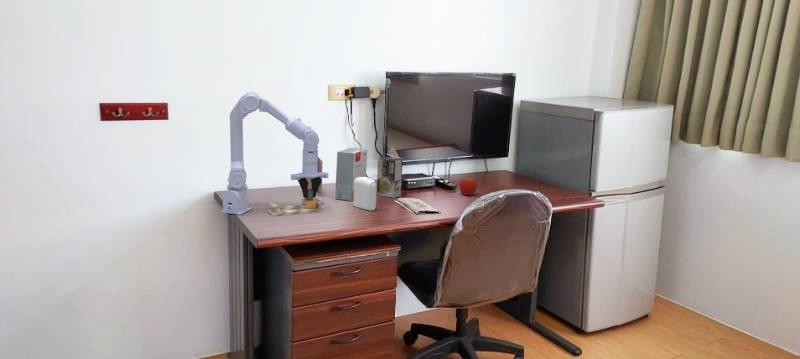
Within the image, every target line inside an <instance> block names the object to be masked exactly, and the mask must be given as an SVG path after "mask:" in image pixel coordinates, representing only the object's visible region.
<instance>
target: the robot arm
mask: <svg viewBox="0 0 800 359" xmlns="http://www.w3.org/2000/svg"><path fill="white" fill-rule="evenodd" d="M257 110H258V112H259V113H260V112H261V113H267V114H269V115H270V116H272V117H273V118H275V119H276V120H278V121H279V122H281V123H282V124H284V128H285V130H286V131H287V132H289V133H290V134H291V135H293V136H294V137H295V138H296V139H298V140H300V141H301V140H302V142H303V144H302V145H303V147H302V148H303V149H302V159H301V160H302V166H301V167H302V168H301V172H299V173H293V174H292V173H291V174H290V180H291V181H297V182H298V185H300V188H301V192H302V196H303V199H306V198H307V189H308V183H309V182H308V181H307V180H306V179H311V184H312V189H313V199H315V198H316V196H317V193H318V191H317V190H318V188H319V186H320V184H321V182H322V183H323V179H329V172H326V171H325V172H323V171H322V172H318V157H319V150H318V149H319V148H318V147H319V146H318V144H319V143H320V137H319V134H317V132H316V131H315V129H312V127H311V126H310V125H309V126H308V125H306V124H305V123H303V122H302V119H301V118H299V117H296V116H292V117H290V116H288V115H287V114H286V113H285V112H283V111H282V110H281V109H279V107H277V105H276V106H275V105H274V104H273V103H272V102H271V101H269V100H267V99H266V98H264V97H263V96H259V94H257V93H256V92H253V91H249V92H246V93H245V94H244V95H242V96H241V97H240V98H239V99H238V101H237V102H236V103H235V106H234V107H233V108H232V110H231V111H230V113H229V139H230V140H229V141H230V143H229V144H230V171H229V174H228V179H227V182H228V184H227V186H226V187H227V189H226V191H225V192H224V193H223V195H222V210H220V213H222V214H231V215H238V216H239V215H242V214H244V213H246V212H248V211H251V210H252V209H253V208H252V207H249V206H248V185H247V184H246V182H247V172H246V170H245V167H244V129H243V127H244V126H243V125H244V119H245V118H246V117H248V116H249V114H252V113H254V112H256V111H257ZM321 178H322V179H321Z"/></svg>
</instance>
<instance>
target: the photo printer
mask: <svg viewBox="0 0 800 359" xmlns="http://www.w3.org/2000/svg"><path fill="white" fill-rule="evenodd" d="M352 201H353V207H355V208H359V209H363V210H367V211H375V209H377V208H376V207H377V181H375V180H374V179H372V178H370V177H367V176H366V177H358V178H356V179H355V180H354V196H353V200H352Z"/></svg>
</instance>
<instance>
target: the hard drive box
mask: <svg viewBox="0 0 800 359" xmlns="http://www.w3.org/2000/svg"><path fill="white" fill-rule="evenodd" d="M367 163H368V148H358V147H349V148H346V149H343V150H338V151H337V152H336V173H335V191H334V192H335V193H334V198H335V200H341V201H348V202H351V201H353V196H354V180H355V179H356V178H358V177H367Z"/></svg>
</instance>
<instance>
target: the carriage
mask: <svg viewBox="0 0 800 359" xmlns="http://www.w3.org/2000/svg"><path fill="white" fill-rule="evenodd" d="M314 199H315V198H313V189H307V198H302V199H301V202H302V203H301V205H306V208H316V204H317V201H316V200H314Z"/></svg>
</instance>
